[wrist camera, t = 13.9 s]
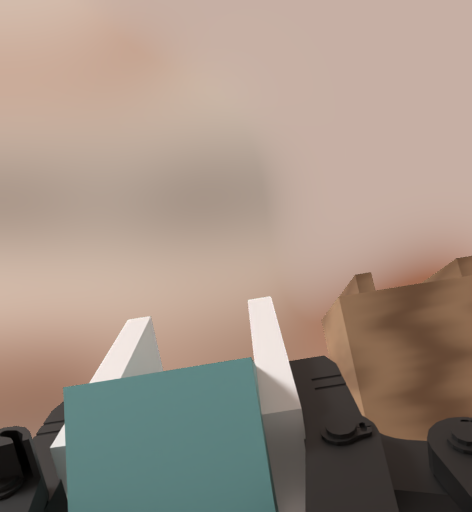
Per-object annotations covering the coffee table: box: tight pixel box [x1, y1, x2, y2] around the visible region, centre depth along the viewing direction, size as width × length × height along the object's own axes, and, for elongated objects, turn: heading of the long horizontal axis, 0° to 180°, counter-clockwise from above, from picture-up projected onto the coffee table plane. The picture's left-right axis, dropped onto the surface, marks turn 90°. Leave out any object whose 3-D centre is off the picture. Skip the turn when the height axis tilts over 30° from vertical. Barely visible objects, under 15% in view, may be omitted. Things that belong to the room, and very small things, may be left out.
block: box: [63, 357, 279, 512], centre depth 19 cm, size 3×25×3 cm, turn 176°
